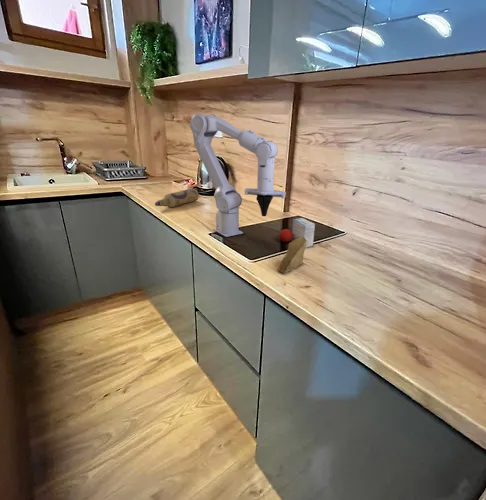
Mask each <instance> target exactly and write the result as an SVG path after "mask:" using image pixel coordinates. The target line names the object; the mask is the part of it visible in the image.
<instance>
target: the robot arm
mask: <svg viewBox="0 0 486 500" xmlns="http://www.w3.org/2000/svg"><path fill="white" fill-rule="evenodd" d="M189 128H190V131H191V133H192V139H193V145H194V147H195V150H196V152H197V153H198V156H199V158H200V159H201V162H202V164H203V167H204V168H205V171H206V173H207V174H208V176H209V179H210V181H211V183H212V185H213V187H214V189H215V191H214V194H213V197H214V199H215V206H216V208H217V211H216V213H215V228H214V229H213V230H214V231H215V232H217V234H220V235H221V236H223V237H225V238H229V237H233V236H237V235H242V234H244V232H243V231H241V230H240V229H239V227H240V225H239V224H240V223H239V222H240V217H239V216H240V207H241V205H242V203H243V198H242V196H241V194H240V193H239V192H238V191H237V189H236V188H235V186H233V185H232V184H231V183H230V182H229V181H228V178H227V176H226V174H225V172H224V169H223V168H222V166H221V163H220V161H219V159H218V157H217V155H216V153H215V151H214V148H213V146H212V141H213V139H214V138H215V136H216V135H217V133H218V132H220V133H223V134H225V135H227V136H229V137H231V138H233V139H234V140H236V141H238V144H239V146H240V147H242V148H243V149H245V150H247V151H249V152H251V153H253V154H254V155H255V156H256V158H257V177H256V178H257V180H256V182H257V183H256V188H248V187H247V188H244V195H245V196H246V195H247V196H248V195H249V196H256V198H255V200H256V201H257V204H258V206H259V208H260V209H259V210H260V212H261V213H260V214H261V217H266V216H267V214H268V210H269V207H270V204H271V202H272V200H273V198H281V199H285V198H286V195H287V193H286V191H283V190H276V189H274V182H275V181H274V180H275V163H276V162H275V161H276V160H275V159H276V158H275V157H276V156H277V155H278V152H279V149H278V146H277V144H276V143H275V142H274V140H266V137H264V136H259V135H258V134H256V133H255V131H254V130H252V129H245V130H241V129H239V128H238V127H236V126H234V124H232V123H230V122H229V121H227V120H226V119H224V118H222V117H220V116H217V115H216V114H206V113H204V114H203V113H199V112H198V113H195V114H193V115H192V117H191V119H190V123H189Z"/></svg>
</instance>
